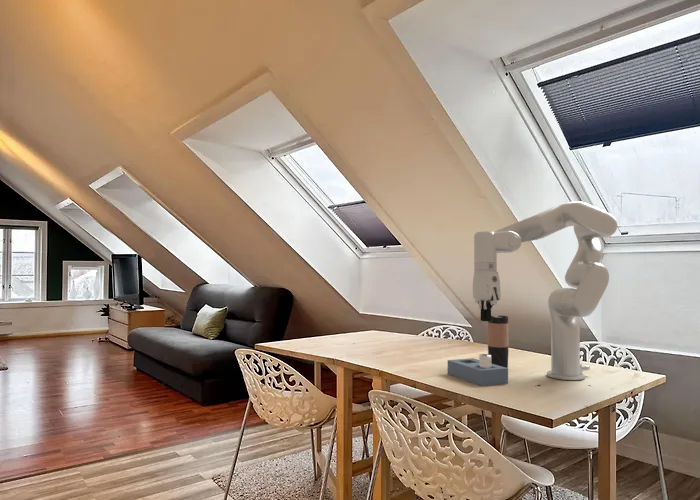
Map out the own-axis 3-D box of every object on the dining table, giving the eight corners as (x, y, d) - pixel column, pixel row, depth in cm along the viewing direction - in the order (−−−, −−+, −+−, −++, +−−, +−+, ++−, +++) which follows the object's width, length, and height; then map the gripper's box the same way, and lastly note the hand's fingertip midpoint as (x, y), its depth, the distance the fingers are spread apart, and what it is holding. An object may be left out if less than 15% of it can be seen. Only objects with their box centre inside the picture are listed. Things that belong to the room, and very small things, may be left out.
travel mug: (502, 371, 198) (502, 317, 198) (484, 368, 203) (484, 316, 203) (512, 368, 203) (511, 316, 204) (493, 365, 208) (493, 314, 209)
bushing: (486, 379, 183) (486, 353, 183) (493, 382, 179) (493, 355, 179) (477, 380, 181) (476, 354, 182) (484, 383, 178) (484, 356, 178)
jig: (472, 371, 196) (472, 358, 196) (508, 383, 178) (508, 368, 178) (447, 373, 192) (447, 360, 192) (480, 385, 174) (480, 370, 174)
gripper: (508, 267, 176) (509, 322, 175) (481, 267, 190) (481, 318, 189) (489, 267, 173) (490, 323, 173) (463, 267, 187) (464, 319, 186)
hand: (485, 320), depth 181 cm, fingers closed
